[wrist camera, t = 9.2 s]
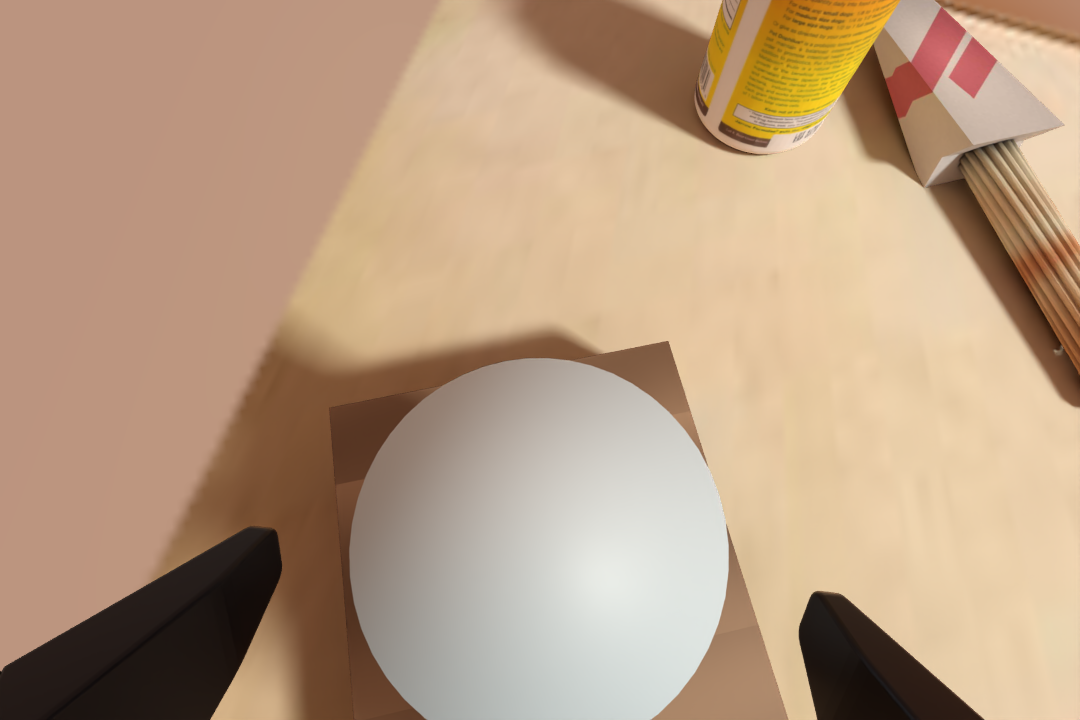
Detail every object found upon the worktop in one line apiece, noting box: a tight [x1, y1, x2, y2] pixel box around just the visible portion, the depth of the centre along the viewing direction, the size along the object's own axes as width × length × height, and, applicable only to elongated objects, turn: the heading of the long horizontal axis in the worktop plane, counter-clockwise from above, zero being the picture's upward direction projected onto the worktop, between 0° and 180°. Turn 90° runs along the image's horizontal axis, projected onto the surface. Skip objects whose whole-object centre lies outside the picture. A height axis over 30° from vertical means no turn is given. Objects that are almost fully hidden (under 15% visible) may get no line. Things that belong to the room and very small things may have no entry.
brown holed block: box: [329, 341, 788, 720], centre depth 15 cm, size 18×10×4 cm, turn 12°
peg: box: [349, 358, 729, 720], centre depth 12 cm, size 4×4×12 cm
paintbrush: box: [873, 0, 1080, 376], centre depth 22 cm, size 4×3×20 cm
